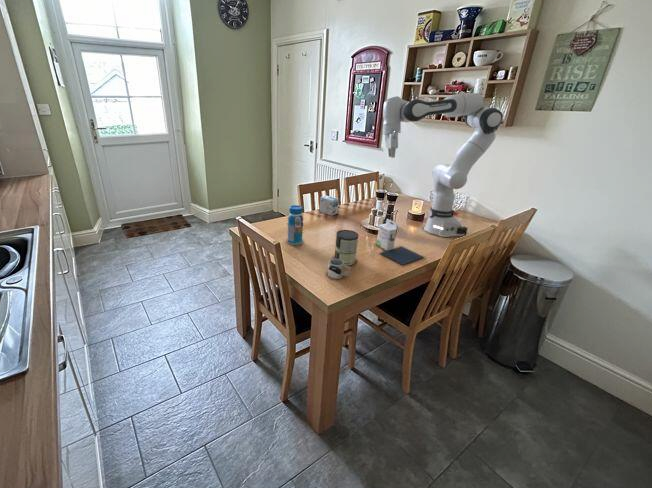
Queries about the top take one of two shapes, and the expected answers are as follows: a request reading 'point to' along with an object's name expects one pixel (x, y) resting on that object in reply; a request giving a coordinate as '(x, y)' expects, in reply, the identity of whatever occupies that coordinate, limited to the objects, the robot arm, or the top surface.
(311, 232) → the top surface
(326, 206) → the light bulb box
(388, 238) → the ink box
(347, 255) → the coffee can
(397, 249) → the mat
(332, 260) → the mug
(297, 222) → the beverage bottle
